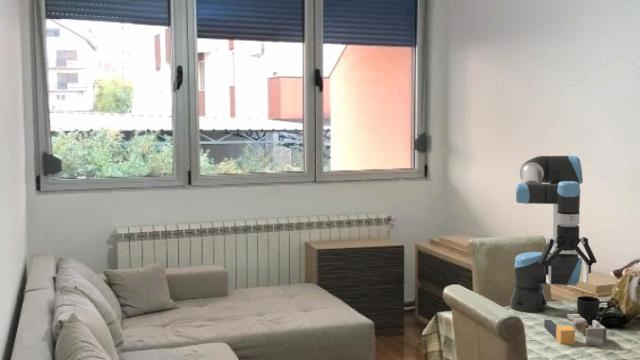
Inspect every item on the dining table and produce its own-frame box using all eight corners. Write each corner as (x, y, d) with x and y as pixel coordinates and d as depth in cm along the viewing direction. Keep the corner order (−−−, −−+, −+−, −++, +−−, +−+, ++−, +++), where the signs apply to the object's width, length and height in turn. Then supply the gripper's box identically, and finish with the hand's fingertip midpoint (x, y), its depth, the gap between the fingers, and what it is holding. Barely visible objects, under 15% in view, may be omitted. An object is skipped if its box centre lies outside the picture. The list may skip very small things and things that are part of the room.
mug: (610, 327, 269) (611, 303, 268) (577, 324, 273) (577, 301, 272) (608, 320, 277) (608, 297, 276) (576, 318, 281) (576, 295, 280)
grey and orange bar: (544, 327, 271) (544, 314, 270) (557, 327, 271) (557, 314, 270) (560, 344, 252) (560, 330, 251) (574, 343, 252) (574, 330, 251)
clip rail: (565, 326, 271) (566, 311, 271) (583, 326, 271) (584, 311, 271) (586, 345, 250) (586, 329, 249) (606, 345, 250) (606, 328, 249)
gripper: (537, 227, 246) (536, 286, 248) (607, 225, 246) (605, 284, 249) (530, 223, 253) (529, 281, 256) (598, 222, 254) (596, 279, 256)
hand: (567, 282), depth 252 cm, fingers open, 13 cm apart
